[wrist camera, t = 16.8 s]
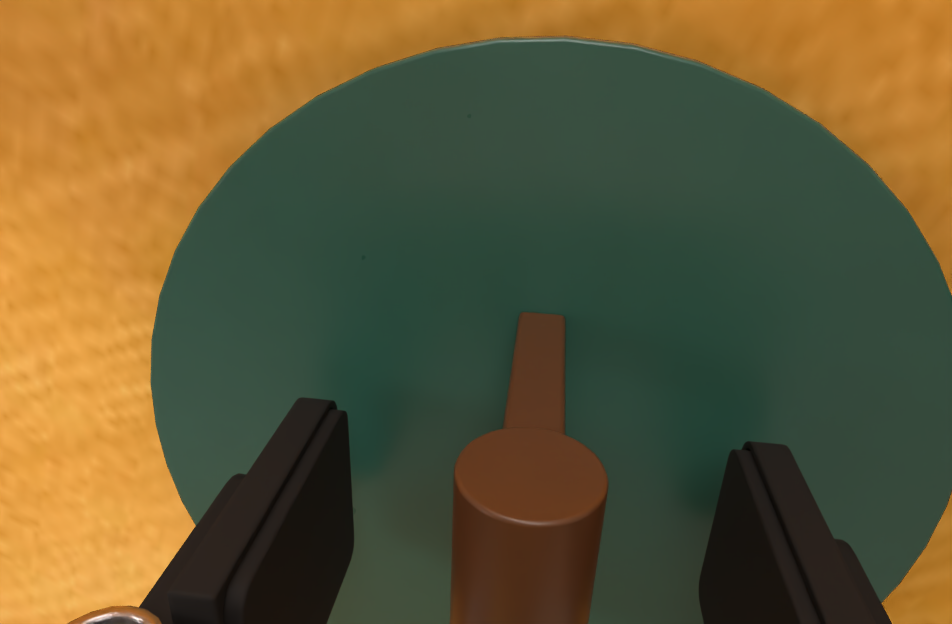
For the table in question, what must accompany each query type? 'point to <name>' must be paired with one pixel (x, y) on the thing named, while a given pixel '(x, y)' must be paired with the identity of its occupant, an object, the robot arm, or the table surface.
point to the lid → (560, 328)
